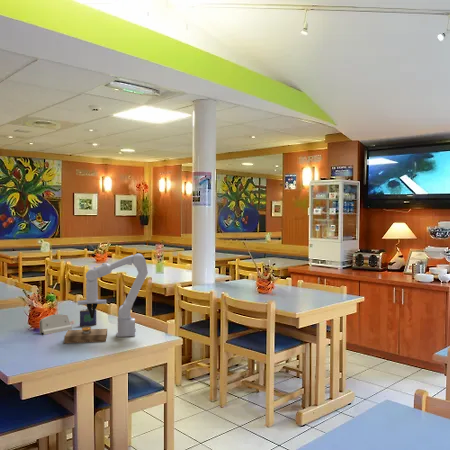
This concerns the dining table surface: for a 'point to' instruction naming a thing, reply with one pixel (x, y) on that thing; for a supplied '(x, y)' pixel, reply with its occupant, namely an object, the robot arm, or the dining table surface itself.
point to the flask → (87, 318)
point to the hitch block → (85, 336)
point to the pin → (86, 330)
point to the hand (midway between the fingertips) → (92, 317)
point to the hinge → (55, 324)
